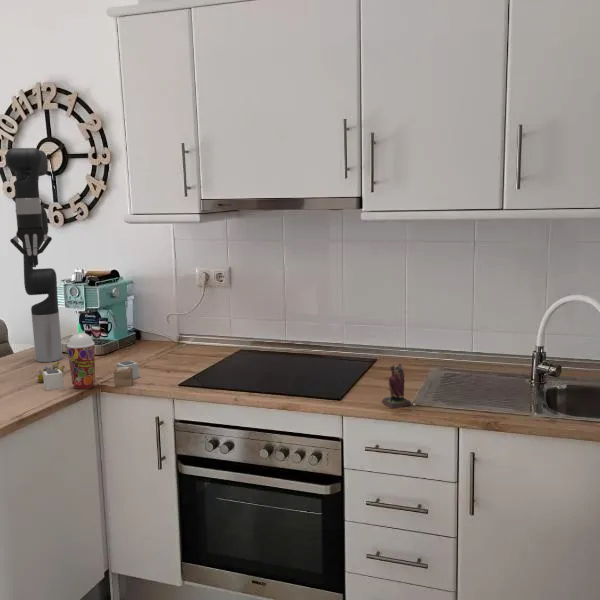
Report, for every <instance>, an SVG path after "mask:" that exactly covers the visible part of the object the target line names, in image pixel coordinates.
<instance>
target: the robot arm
mask: <svg viewBox="0 0 600 600" xmlns="http://www.w3.org/2000/svg"><path fill="white" fill-rule="evenodd" d="M4 158H5V159H4V160H5V164H6V166H7V167H8V169H9V170H10V171H12V172H14V173H15V174H14V175H15V179H16V180H14V196H15V205H14V206H15V214H16V216H15V217H16V225H17V229H16V230H17V231H16V235H14V237H13V238H10V243H11V244H12V245H13V246H14V247H15V248H16V249H17V250H18V251H19V252H20V254H22V255H23V280H24V281H23V282H24V283H23V285H24V290H25V293H26V294H27V295H29V296H38V295H39V296H41V295H47V297H46V298H45V299H43V300H42V301H41V302H38V303H35V304H33V305H31V308H30V311H31V323H32V333H33V335H32V336H33V343H34V356H35V362H38V363H48V362H49V363H51V362H56V361H57V362H58V361H60V360H62V359H63V349H62V347H63V346H62V336H61V335H62V333H61V324H60V312H59V311H60V309H59V301H58V281H57V273H56V270H55V268H50V267H49V268H47V267H46V268H37V266H38V265H39V255H40V254H43V252H44V251H45V250H46V249H47V248H48V245H49V244H50V243H51V241H52V240H53V238H52V236H50V235H48V234H49V222H48V221H49V220H48V213H47V211H46V209H45V208H44V206H43V205H42V204H41V200H40V190H39V188H40V187H39V179H40V178H39V177H41V176H45V175H46V174H47V173H48V170H49V169H48V168H49V163H48V161H49V160H48V156H47V155H46V152H45V151H43V150H40V149H38V148H36V147H23V148H22V147H18V148H17V147H13V148H10V149H8V150H7V151H6V153H5V157H4ZM19 240H20V241H21V243H22V246H21V244H20V241H19ZM35 268H36V269H35Z"/></svg>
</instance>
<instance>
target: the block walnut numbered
mask: <svg viewBox="0 0 600 600" xmlns="http://www.w3.org/2000/svg"><path fill="white" fill-rule="evenodd" d="M113 380H114V381H113V382H114V388H121V387H122V388H124V387H132V386H133V383H134V379H133V370H132V367H119V368H117V367H116V368H115V369H114V371H113Z"/></svg>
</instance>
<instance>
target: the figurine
mask: <svg viewBox="0 0 600 600" xmlns="http://www.w3.org/2000/svg"><path fill="white" fill-rule="evenodd" d="M402 367H403V366H402V364H401V363H398V364H397V365H396V366H395V365H394V364H392V365H390V367H389V370H390V372H391V375H388V386H389V393H390V394H389V395H390V397H389V396H387V397H384V398H382V400H381V403H382V404H383V405H385V406H387V407H388V408H389V409H391V410H392V409H401V408H404V407H406V406H409V405H410V406H411V405H412V402H411V401H410V400H408V399H407V398H405V372H404V369H403V368H402Z"/></svg>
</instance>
